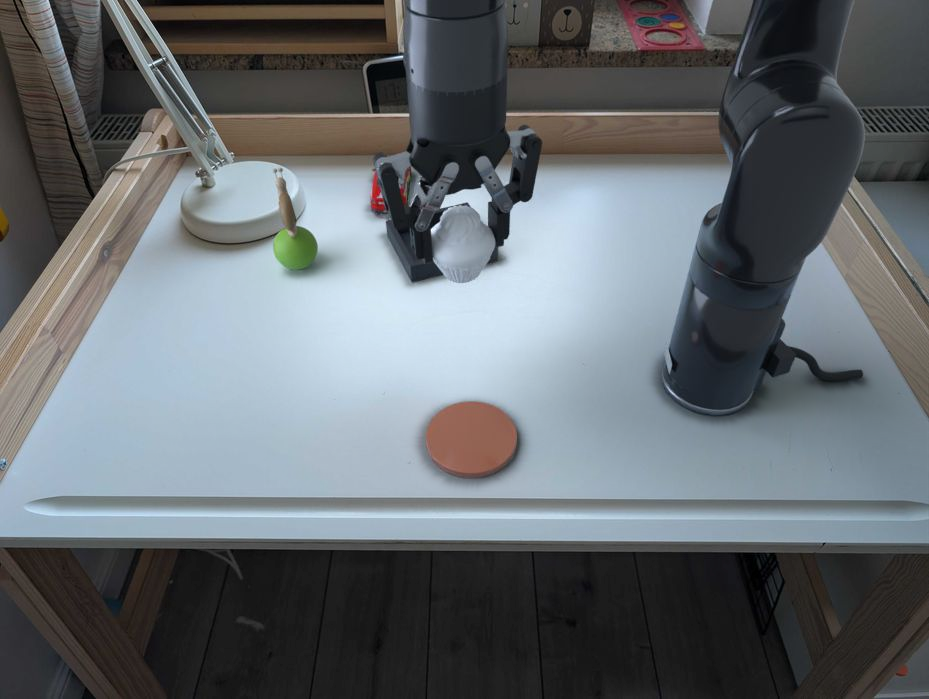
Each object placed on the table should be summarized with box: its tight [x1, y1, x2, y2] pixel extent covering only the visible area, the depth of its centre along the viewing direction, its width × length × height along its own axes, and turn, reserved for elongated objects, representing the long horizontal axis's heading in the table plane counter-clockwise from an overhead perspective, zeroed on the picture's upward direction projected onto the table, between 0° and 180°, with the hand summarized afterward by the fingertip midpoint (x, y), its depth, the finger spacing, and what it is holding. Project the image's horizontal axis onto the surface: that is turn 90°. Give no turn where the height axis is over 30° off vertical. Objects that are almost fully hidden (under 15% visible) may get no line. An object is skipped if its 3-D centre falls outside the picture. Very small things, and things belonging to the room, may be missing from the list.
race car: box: [369, 166, 412, 216], centre depth 102 cm, size 13×5×4 cm, turn 178°
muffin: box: [431, 205, 495, 284], centre depth 64 cm, size 6×6×7 cm
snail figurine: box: [272, 167, 319, 271], centre depth 88 cm, size 5×6×12 cm
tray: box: [385, 202, 499, 283], centre depth 93 cm, size 12×11×2 cm
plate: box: [425, 400, 518, 479], centre depth 71 cm, size 9×9×1 cm
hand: (461, 249), depth 64 cm, fingers closed on muffin, 6 cm apart
